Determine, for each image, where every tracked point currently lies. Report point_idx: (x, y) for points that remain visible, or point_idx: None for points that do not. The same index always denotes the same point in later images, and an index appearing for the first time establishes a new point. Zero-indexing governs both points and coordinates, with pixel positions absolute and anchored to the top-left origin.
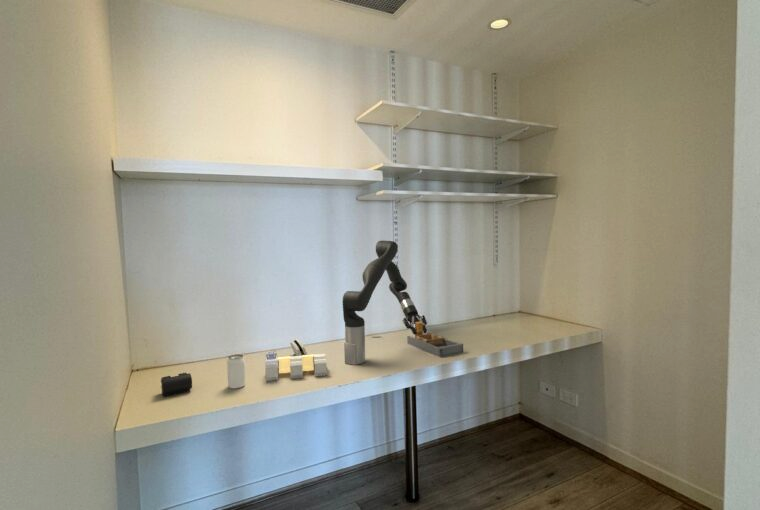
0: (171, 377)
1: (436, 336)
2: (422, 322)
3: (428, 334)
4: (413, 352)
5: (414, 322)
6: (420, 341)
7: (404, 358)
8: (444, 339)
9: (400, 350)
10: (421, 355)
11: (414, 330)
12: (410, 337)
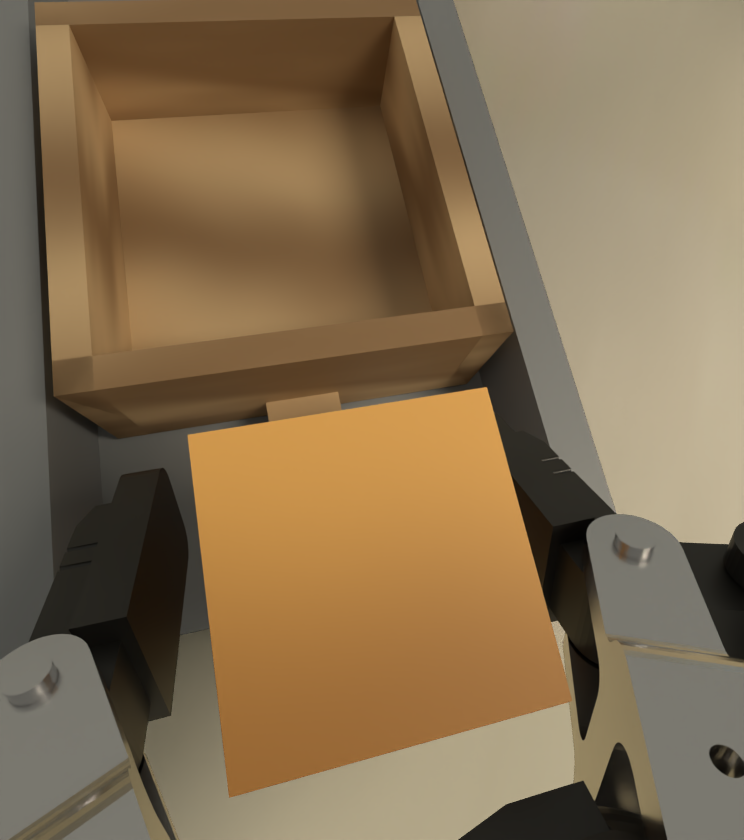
0: None
1: (85, 176)
2: (191, 434)
3: (174, 347)
4: (579, 129)
5: (549, 799)
6: (489, 117)
7: (712, 16)
8: (30, 47)
9: (712, 254)
10: (525, 16)
11: (528, 453)
12: (584, 415)
